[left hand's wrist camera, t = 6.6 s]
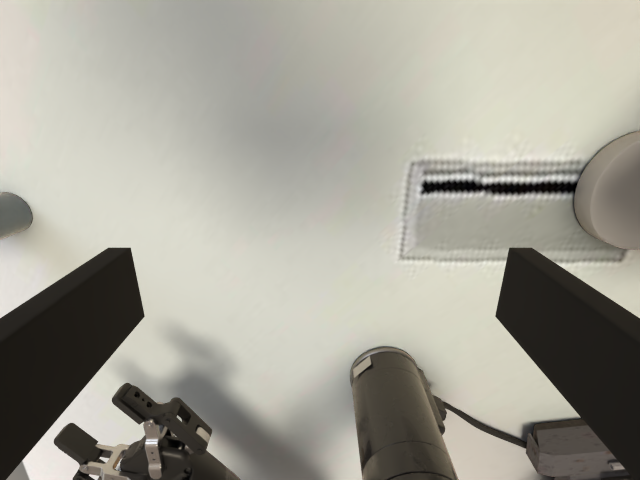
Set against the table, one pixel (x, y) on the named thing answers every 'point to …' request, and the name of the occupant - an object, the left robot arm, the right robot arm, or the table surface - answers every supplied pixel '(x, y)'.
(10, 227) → the jar
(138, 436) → the table surface
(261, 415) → the table surface
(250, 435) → the table surface
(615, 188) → the bust sculpture
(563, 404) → the table surface
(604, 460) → the toy
